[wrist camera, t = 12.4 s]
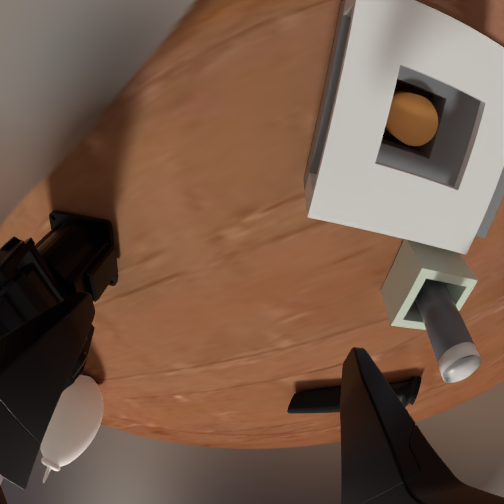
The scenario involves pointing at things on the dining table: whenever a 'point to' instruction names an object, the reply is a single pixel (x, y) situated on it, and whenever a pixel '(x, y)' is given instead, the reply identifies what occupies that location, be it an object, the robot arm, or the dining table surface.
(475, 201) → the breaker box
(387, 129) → the button
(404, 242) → the pen stand
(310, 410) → the electric trimmer
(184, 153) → the dining table surface
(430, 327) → the flashlight
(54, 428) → the sauce bottle
